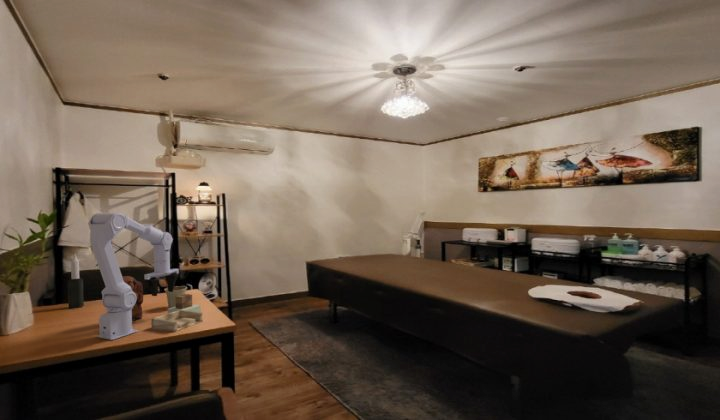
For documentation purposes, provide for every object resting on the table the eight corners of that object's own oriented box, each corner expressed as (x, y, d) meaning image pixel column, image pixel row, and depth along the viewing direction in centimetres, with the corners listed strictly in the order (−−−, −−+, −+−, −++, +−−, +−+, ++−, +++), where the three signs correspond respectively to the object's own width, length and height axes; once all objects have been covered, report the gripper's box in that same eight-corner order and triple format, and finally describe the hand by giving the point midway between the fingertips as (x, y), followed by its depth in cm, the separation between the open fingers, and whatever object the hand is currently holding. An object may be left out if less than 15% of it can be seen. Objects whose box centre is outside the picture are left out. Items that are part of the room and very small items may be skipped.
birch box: (174, 331, 134) (174, 322, 134) (151, 328, 139) (151, 319, 139) (202, 321, 146) (202, 312, 146) (180, 318, 151) (180, 309, 151)
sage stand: (183, 318, 151) (183, 310, 151) (167, 316, 155) (167, 309, 154) (200, 312, 159) (200, 305, 159) (185, 310, 163) (185, 303, 163)
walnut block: (182, 309, 154) (182, 297, 154) (175, 308, 155) (175, 296, 155) (192, 306, 158) (192, 294, 158) (185, 305, 160) (185, 293, 160)
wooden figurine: (112, 325, 143) (111, 279, 143) (107, 322, 147) (106, 277, 147) (145, 318, 152) (144, 274, 152) (139, 315, 156) (138, 273, 156)
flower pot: (191, 304, 173) (191, 286, 173) (180, 309, 164) (179, 290, 164) (172, 304, 174) (172, 285, 174) (160, 309, 165) (159, 290, 165)
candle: (71, 306, 174) (69, 253, 173) (84, 305, 176) (82, 252, 176) (67, 309, 169) (66, 254, 169) (81, 307, 171) (80, 254, 171)
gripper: (152, 264, 144) (153, 298, 144) (183, 258, 158) (184, 290, 158) (140, 263, 147) (141, 297, 147) (171, 258, 160) (172, 289, 160)
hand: (162, 293), depth 153 cm, fingers open, 7 cm apart
